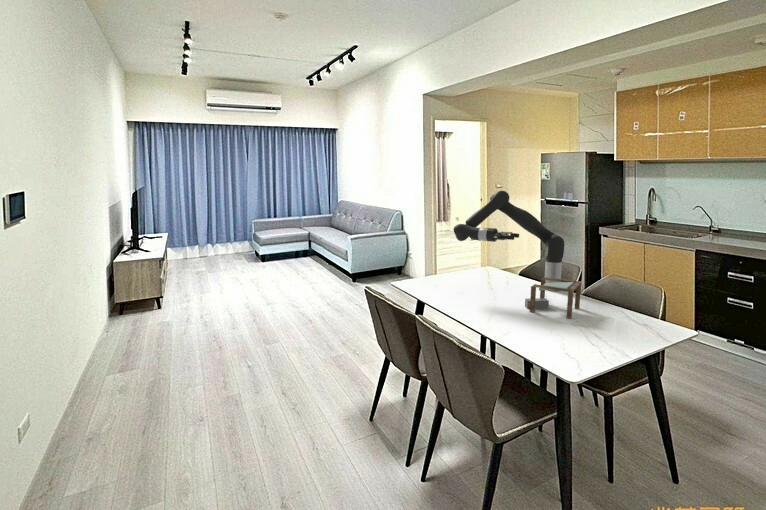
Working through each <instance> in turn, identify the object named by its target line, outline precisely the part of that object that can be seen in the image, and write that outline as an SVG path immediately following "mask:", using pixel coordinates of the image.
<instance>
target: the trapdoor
mask: <svg viewBox="0 0 766 510" xmlns="http://www.w3.org/2000/svg"><path fill="white" fill-rule="evenodd" d="M574 284H575V282H555V283H545V284H544V285H545V286H552V287H560V288H567V289H570V288H571V287H572V286H573V285H574ZM540 290H545V291H550V290H552V289H545V288H538V291H540Z"/></svg>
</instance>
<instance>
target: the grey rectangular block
mask: <svg viewBox="0 0 766 510" xmlns="http://www.w3.org/2000/svg"><path fill="white" fill-rule="evenodd" d="M549 302H550V301H549V300H548V299H547V298H540V297H539V298H538V297H537V298H536V299H535V310H536V309H537V310H538V309H539V310H542V309H543V310H544V309H545V310H549V306H550V305H549V304H550V303H549ZM524 307H525V308H526V309H527V310H530V298H524Z"/></svg>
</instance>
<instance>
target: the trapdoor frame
mask: <svg viewBox="0 0 766 510" xmlns="http://www.w3.org/2000/svg"><path fill="white" fill-rule="evenodd" d="M546 280H551V281H559V282H575V284H574V285H573V286H572V287H571V288H570V289H567V288H560V287H552V286H545V285H544V284H545V283H546ZM537 288H538V289H539V288H545V289H552V290H558V291H560V292H561V291H562V292H568V293H567V302H566V303H567V304H566V319H571V320H572V318H573V303H574V309H575V310H579V309H580V305H581V303H580V302H581V291H582V281H579V280H573V279H564V278H561V279H557V278H548V277H545V276H544V277H542V278H541V279H540V284H536V283H535V284H533V285H531V286H530V309H529V313H535V312H536V309H535V299H536V296H537V295H536V294H537ZM539 291H540V292H539V298H545V297H546V290H539ZM574 292H575V295H574ZM574 296H575V297H574ZM574 298H575V299H574Z"/></svg>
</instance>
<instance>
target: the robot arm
mask: <svg viewBox="0 0 766 510" xmlns="http://www.w3.org/2000/svg"><path fill="white" fill-rule="evenodd" d="M497 210H498V211H500V212H502V213H503V214H504V215H506V216H507V217H508V218H510V219H511V220H512V221H514V222H515V223H517V225H519V226H520V227H521V228H522V229H523V230H525V231H526V232H528V233H530V234H531V235H533V236H535V237H537V238H538V239H539V240H540V241H541V242H542V243H543V244H544V245H545V246H546V248H547V254H546V256H545V264H544V265H545V267H544V277H548V278H557V279H562V267H563V265H562V264H563V258H564V253H565V240H564V239H563V237H562V236H560V235H558V234H556V233H554V232H553V231H551V230H549V229H548V228H547V227H545V225H543V223H542V222H540V221H539V219H538V218H537V217H536V216H534V215H533V214H532V213H530V212H529V211H527V210H525V209H523V208H520V207H518V206H515V204H512V203H511V202H510V195H509V193H508V192H507V191H505V190H498V191H496V192H494V193H493V194H491V196H490V198H489V202H487V203H486V204H485V205H484V206H483V207H481V208H480V209H478V210H477V211H475V212H474V213H473V214H472V215H471V216H469V217H468V218H467V219H466V220H465V223H457V224H455V226H454V227H453V232H454V235H455V238H456V239H457V240H458V241H459V242H464V241H465V240H466V241H467V239H471V240H474V241H482V242H491V243H492V242H493V243H495V242H497V241H498V240H499V241H505V240H510V241H513V240H515V238H516V239H517V238H518V239H519V238H520V233H515V232H514V233H513V232H512V231H511V232H510V231H499V230H498V229H497V228H495V227H478V226H480V225H481V224H482V223H483V222H484V221H485V220H486V219H487V218H489V216H491V215H492V214H494V213H495V212H496V211H497ZM555 282H559V281H551V280H546V283H555ZM549 291H552V292H558V291H559V290H549Z"/></svg>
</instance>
